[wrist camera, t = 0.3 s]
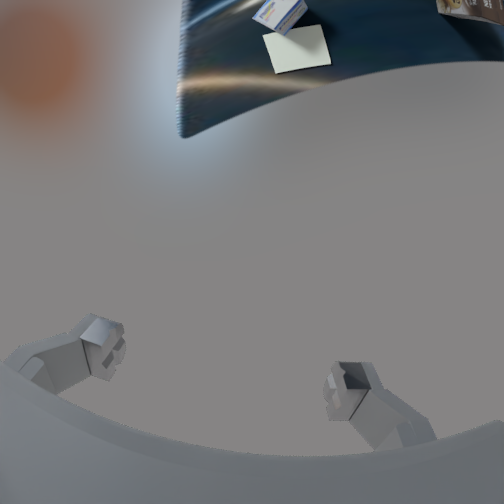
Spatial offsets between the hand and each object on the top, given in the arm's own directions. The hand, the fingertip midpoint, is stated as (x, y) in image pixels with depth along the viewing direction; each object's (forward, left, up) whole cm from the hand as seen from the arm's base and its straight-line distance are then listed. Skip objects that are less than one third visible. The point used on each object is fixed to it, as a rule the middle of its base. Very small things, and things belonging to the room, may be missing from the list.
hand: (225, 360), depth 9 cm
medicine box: (-13, +5, -52) cm, 54 cm away
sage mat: (-6, +5, -52) cm, 53 cm away
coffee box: (-17, +40, -52) cm, 68 cm away
